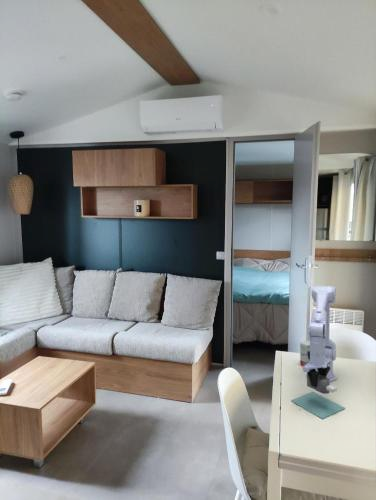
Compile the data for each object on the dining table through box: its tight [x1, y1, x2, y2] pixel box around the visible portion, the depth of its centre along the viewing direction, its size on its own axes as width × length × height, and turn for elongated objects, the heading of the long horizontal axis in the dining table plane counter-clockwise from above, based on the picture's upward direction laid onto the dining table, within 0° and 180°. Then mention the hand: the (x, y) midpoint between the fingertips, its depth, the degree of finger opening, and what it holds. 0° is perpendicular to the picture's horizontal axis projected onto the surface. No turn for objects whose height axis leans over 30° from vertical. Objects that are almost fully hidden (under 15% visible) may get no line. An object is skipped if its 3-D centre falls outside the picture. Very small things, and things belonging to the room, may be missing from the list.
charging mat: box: [290, 391, 346, 420], centre depth 146 cm, size 16×13×1 cm
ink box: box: [299, 340, 310, 367], centre depth 183 cm, size 9×5×12 cm, turn 114°
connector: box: [306, 373, 338, 395], centre depth 144 cm, size 13×4×5 cm, turn 30°
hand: (317, 384), depth 146 cm, fingers closed on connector, 4 cm apart
